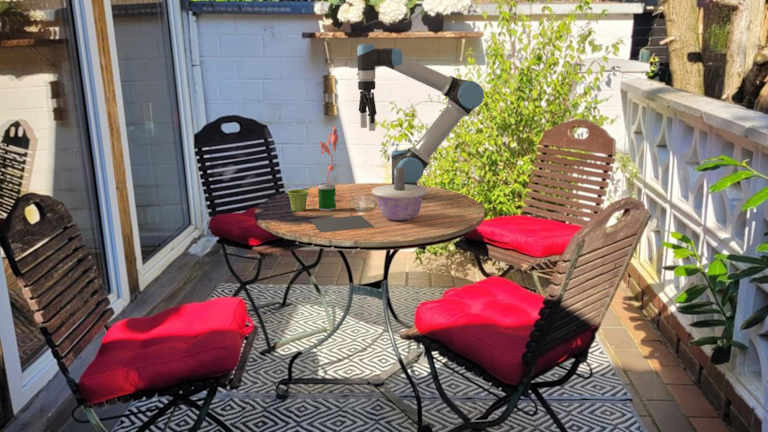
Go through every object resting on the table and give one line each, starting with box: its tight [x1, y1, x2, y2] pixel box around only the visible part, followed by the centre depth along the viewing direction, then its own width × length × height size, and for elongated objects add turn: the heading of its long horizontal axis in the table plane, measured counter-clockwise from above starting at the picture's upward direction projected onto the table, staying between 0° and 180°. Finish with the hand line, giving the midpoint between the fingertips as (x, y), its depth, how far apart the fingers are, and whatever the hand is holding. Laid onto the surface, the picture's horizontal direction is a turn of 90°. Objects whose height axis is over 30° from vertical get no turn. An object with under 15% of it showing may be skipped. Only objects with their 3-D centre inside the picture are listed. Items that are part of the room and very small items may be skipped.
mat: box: [309, 214, 375, 233], centre depth 290 cm, size 22×22×1 cm
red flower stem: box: [319, 124, 348, 196], centre depth 336 cm, size 15×26×35 cm, turn 179°
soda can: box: [317, 182, 337, 212], centre depth 313 cm, size 8×8×12 cm
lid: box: [371, 167, 429, 198], centre depth 293 cm, size 23×23×10 cm
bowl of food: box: [375, 195, 424, 222], centre depth 295 cm, size 20×20×12 cm
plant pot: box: [286, 189, 309, 213], centre depth 315 cm, size 9×9×9 cm
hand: (367, 129), depth 315 cm, fingers open, 13 cm apart
